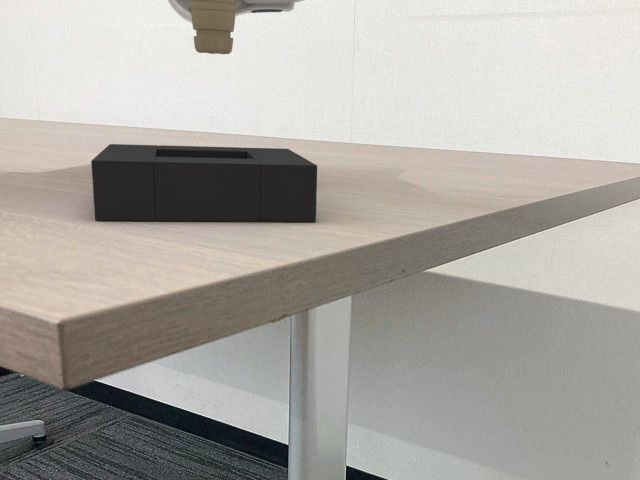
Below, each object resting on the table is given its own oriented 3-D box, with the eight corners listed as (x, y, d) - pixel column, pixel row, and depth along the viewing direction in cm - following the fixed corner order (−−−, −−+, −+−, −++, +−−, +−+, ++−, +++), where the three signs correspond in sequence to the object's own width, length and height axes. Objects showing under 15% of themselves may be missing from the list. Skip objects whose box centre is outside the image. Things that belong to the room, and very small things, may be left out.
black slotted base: (95, 220, 52) (91, 160, 51) (112, 191, 66) (109, 143, 65) (315, 222, 55) (317, 165, 54) (287, 194, 69) (288, 148, 68)
